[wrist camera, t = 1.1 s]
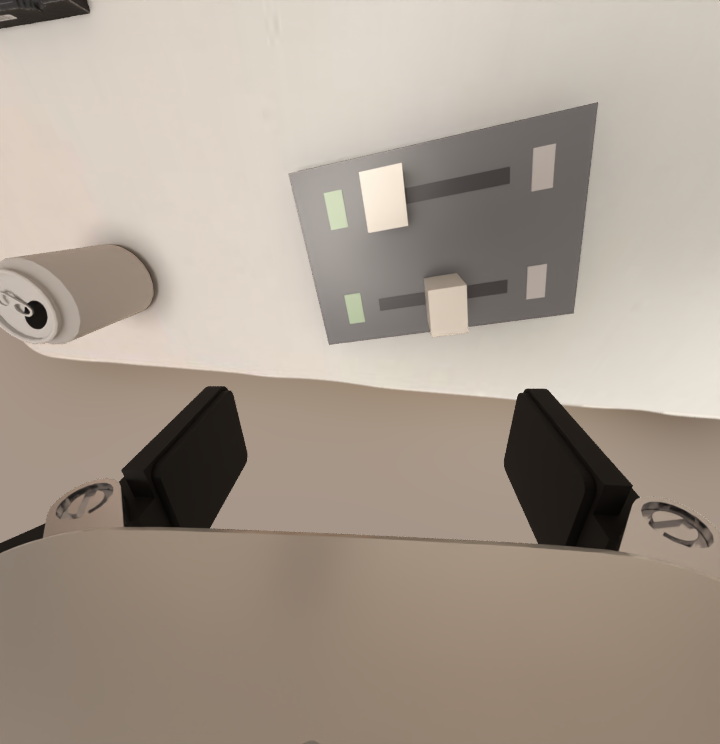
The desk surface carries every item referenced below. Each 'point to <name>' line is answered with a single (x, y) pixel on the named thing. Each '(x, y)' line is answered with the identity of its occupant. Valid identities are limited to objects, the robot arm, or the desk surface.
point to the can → (71, 292)
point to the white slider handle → (446, 304)
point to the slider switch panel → (454, 227)
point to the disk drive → (39, 11)
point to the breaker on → (384, 198)
